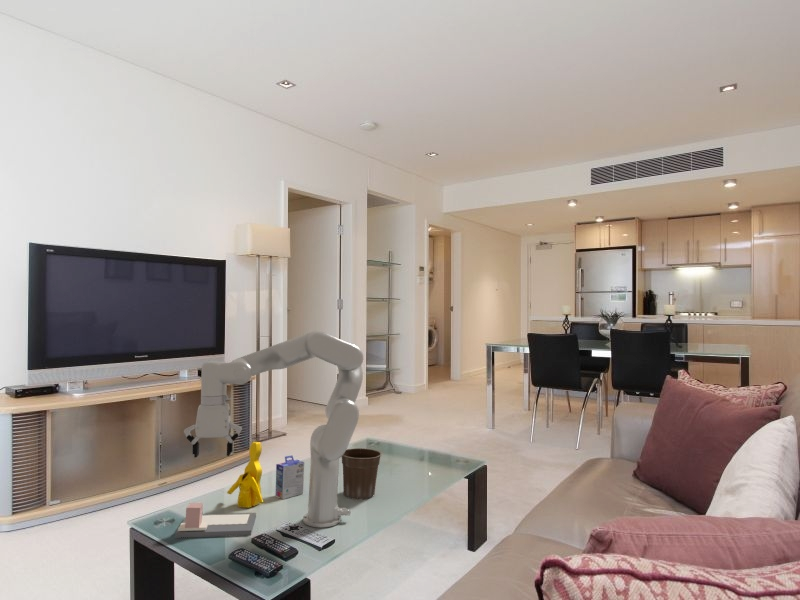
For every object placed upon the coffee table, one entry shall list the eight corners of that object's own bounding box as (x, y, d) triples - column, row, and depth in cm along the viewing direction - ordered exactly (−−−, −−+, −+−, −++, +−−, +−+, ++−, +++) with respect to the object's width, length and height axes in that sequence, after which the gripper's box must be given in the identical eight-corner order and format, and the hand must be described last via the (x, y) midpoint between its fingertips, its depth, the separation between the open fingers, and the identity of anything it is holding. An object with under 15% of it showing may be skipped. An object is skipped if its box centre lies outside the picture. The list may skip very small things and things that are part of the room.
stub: (208, 524, 153) (209, 502, 154) (205, 530, 149) (207, 507, 150) (181, 525, 152) (182, 503, 152) (177, 531, 148) (179, 508, 148)
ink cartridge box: (295, 490, 194) (297, 453, 195) (303, 494, 190) (305, 456, 191) (274, 495, 187) (276, 457, 187) (282, 499, 183) (284, 460, 184)
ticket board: (255, 517, 165) (256, 512, 165) (250, 535, 151) (251, 529, 151) (186, 519, 161) (187, 514, 161) (175, 537, 147) (175, 532, 147)
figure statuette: (222, 503, 177) (226, 441, 178) (239, 497, 184) (242, 437, 185) (257, 514, 168) (261, 449, 169) (274, 507, 175) (277, 445, 176)
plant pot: (353, 485, 203) (355, 445, 204) (387, 492, 195) (389, 451, 196) (330, 496, 189) (332, 453, 190) (365, 504, 181) (367, 460, 182)
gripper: (243, 398, 159) (243, 451, 159) (187, 399, 156) (186, 453, 156) (240, 401, 152) (239, 457, 151) (181, 403, 149) (180, 460, 148)
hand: (212, 455), depth 153 cm, fingers open, 9 cm apart
